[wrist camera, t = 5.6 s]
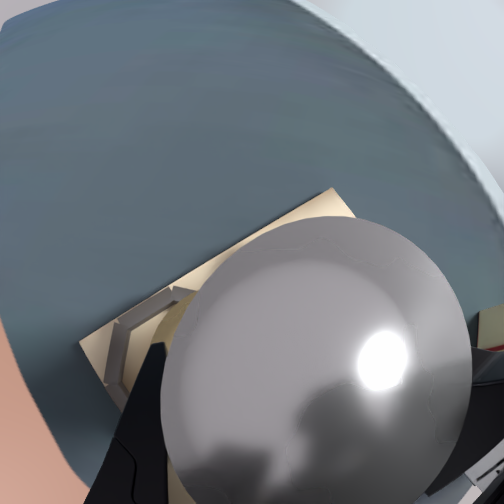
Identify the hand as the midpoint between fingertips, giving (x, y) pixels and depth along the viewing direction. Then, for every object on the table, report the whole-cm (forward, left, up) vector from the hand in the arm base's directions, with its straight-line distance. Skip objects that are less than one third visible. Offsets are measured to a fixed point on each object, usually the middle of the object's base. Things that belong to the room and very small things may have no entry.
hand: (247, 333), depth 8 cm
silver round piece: (-1, 0, -6) cm, 6 cm away
